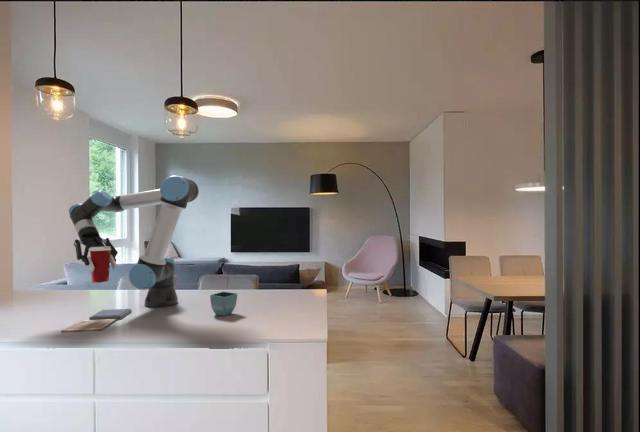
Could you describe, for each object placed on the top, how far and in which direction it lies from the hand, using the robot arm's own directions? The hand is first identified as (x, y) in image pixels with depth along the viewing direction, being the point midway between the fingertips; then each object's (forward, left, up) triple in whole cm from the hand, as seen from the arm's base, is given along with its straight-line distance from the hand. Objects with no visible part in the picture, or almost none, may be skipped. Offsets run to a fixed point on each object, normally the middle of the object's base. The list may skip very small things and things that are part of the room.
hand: (104, 268), depth 145 cm
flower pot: (-50, +2, -21) cm, 54 cm away
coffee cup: (+2, -2, -6) cm, 7 cm away
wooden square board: (0, +11, -21) cm, 24 cm away
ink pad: (-2, -3, -21) cm, 21 cm away
